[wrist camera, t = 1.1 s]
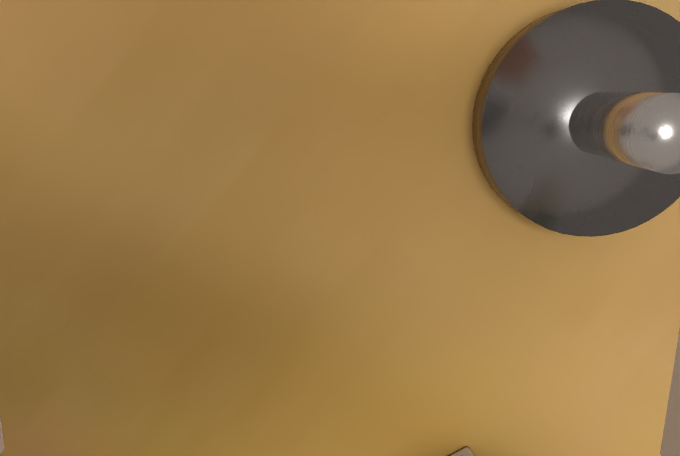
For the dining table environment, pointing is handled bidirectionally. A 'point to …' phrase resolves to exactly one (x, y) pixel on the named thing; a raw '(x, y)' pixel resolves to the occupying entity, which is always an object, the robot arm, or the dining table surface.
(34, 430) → the dining table surface
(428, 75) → the dining table surface
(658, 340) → the dining table surface
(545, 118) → the hub
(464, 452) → the skincare box
